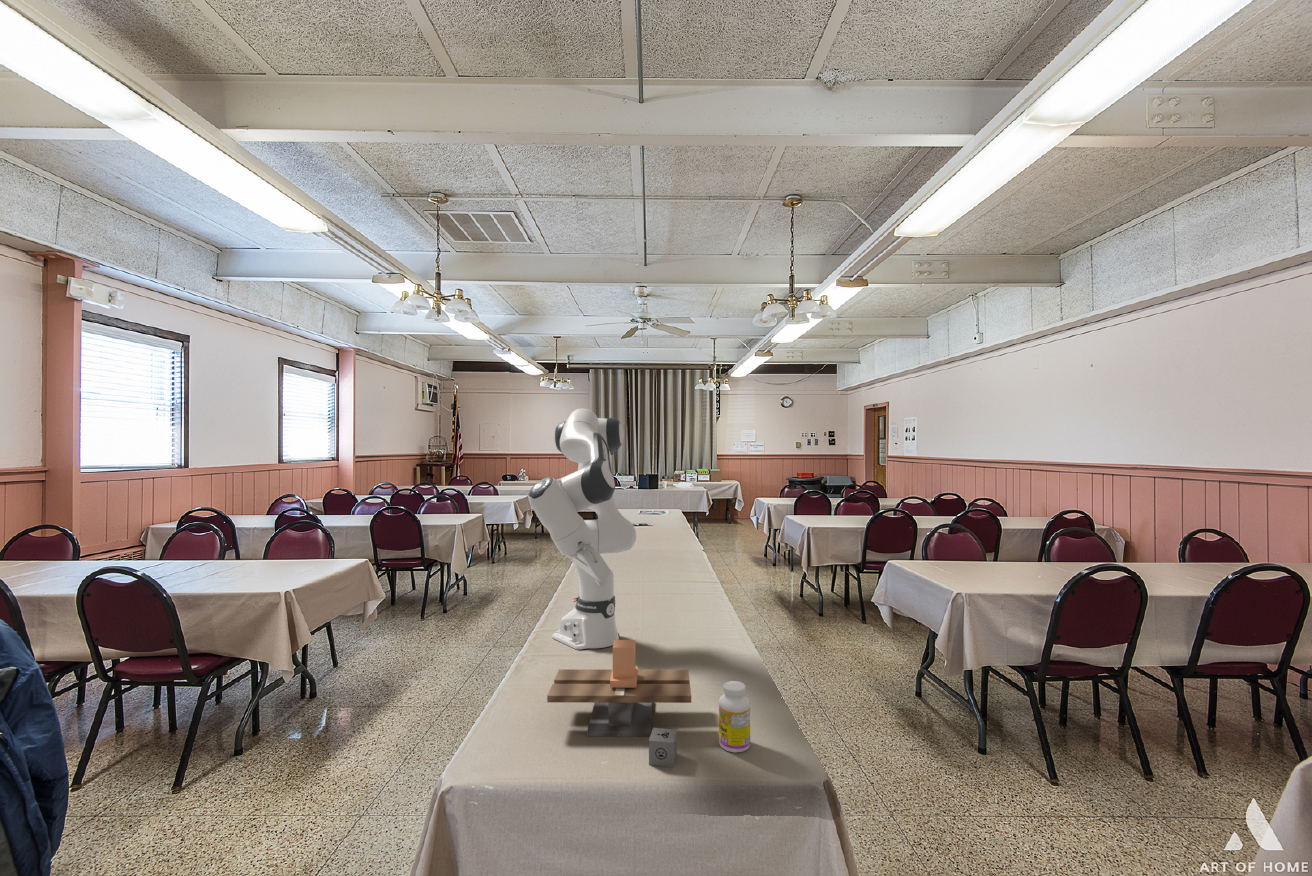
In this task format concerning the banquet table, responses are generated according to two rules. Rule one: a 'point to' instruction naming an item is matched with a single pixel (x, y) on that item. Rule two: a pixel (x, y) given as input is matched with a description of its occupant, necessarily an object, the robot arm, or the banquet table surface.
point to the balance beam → (620, 698)
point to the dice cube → (663, 747)
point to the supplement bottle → (734, 718)
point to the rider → (624, 665)
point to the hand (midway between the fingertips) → (602, 583)
